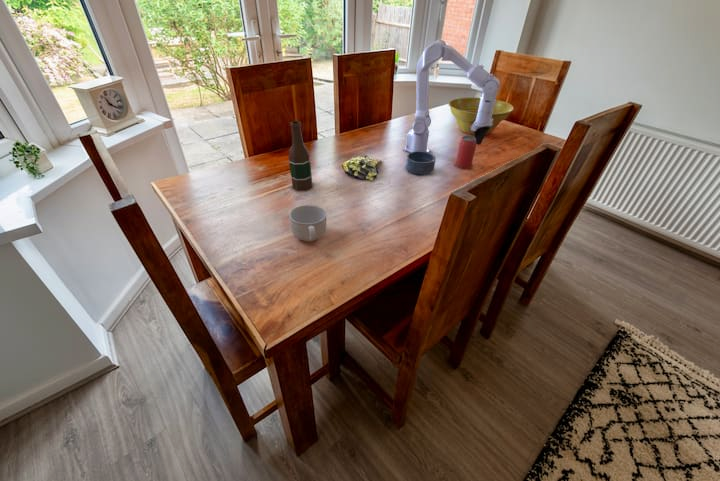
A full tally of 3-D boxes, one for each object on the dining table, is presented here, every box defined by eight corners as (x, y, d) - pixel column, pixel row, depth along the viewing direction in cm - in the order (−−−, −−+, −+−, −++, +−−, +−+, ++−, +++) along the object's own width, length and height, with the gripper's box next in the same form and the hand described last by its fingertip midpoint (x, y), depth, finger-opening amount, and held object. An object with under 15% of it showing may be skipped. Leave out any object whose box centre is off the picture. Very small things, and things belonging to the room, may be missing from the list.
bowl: (400, 169, 135) (401, 156, 131) (417, 161, 141) (418, 149, 138) (422, 178, 128) (424, 165, 125) (439, 169, 135) (441, 157, 131)
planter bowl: (442, 120, 186) (446, 95, 178) (499, 122, 183) (506, 97, 175) (446, 140, 161) (451, 112, 153) (513, 143, 158) (521, 115, 149)
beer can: (471, 170, 134) (478, 141, 127) (455, 168, 135) (461, 140, 128) (470, 163, 139) (476, 136, 132) (455, 162, 140) (460, 134, 133)
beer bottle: (316, 183, 124) (310, 120, 110) (307, 192, 119) (300, 127, 104) (298, 180, 126) (290, 117, 112) (288, 189, 121) (279, 124, 106)
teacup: (293, 225, 102) (290, 204, 97) (328, 224, 103) (326, 202, 98) (289, 254, 91) (286, 231, 86) (328, 252, 92) (326, 229, 87)
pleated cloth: (357, 158, 145) (362, 144, 142) (388, 175, 142) (394, 161, 138) (335, 168, 130) (339, 153, 126) (369, 187, 126) (374, 173, 122)
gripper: (485, 116, 123) (477, 151, 131) (503, 109, 131) (494, 141, 140) (469, 112, 127) (462, 146, 135) (487, 105, 135) (479, 137, 144)
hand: (477, 143), depth 138 cm, fingers closed
